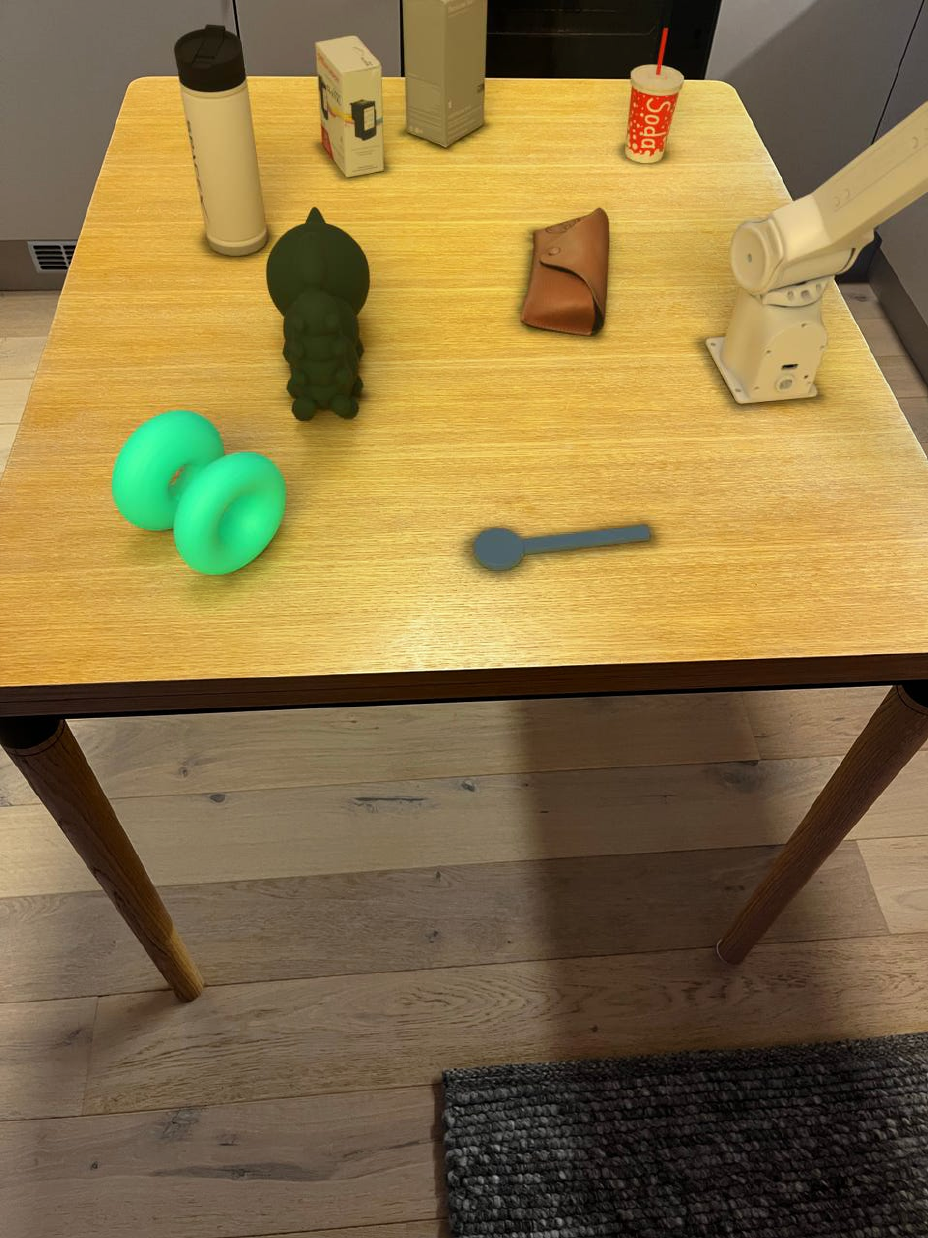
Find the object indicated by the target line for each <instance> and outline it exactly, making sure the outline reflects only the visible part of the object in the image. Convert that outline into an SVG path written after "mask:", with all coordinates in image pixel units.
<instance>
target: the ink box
mask: <svg viewBox="0 0 928 1238" xmlns="http://www.w3.org/2000/svg"><path fill="white" fill-rule="evenodd" d="M314 45H315V58H316V60H315V61H316V74H317V87H318V88H317V91H318V104H319V105H318V107H319V108H318V109H319V120H320V133H321V135H320V136H321V145H322V147H323V148H324V149H325V151H326V153H328V155H329V156H330V157H331V159H332V161H334V163H335V164H336V165H337V167H338V168H339V170H340V171H341V172H342V174H343V175H344V176H345V178H352V177H357V176H363V175H368V174H374V173H378V172H383V171H384V170H385V159H384V158H385V157H384V155H385V154H384V121H383V120H384V115H383V69H382V66H381V62H380V61H379V60H378V59H377V57H375V55H374V54H372V52H371V51H370V50H369V49H368V47H366V45H365V44H364V43H363V42H362V41H361V40H360V38H359V37H358V36H357V35H348V36H342V37H337V38H332V39H326V40H320V41H315V43H314Z"/></svg>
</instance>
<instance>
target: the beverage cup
mask: <svg viewBox="0 0 928 1238" xmlns="http://www.w3.org/2000/svg"><path fill="white" fill-rule="evenodd" d="M668 31H669V28H668V27H664V28H663V31H662V37H661V43H660V46H659V47H660V48H659V54H658V60H657V64H643V65H639V66H637V67H634V68H633V69H632V70H631V71H630V79H629V84H630V85H631V88H630V100H629V108H628V109H629V110H628V117H627V129H626V138H625V148H624V155H625V156H626V157H627V158H628V159H630V160H631V161H633V162H637V163H641V164H652V163H656V162H660V161H661V159H662V158H663V156H664V154H665V153H664V152H665V149H666V144H667V142H668V137H669V134H670V130H671V126H672V121H673V117H674V114H675V109H676V106H677V102H678V98H679V94H680V91H681V90H682V89H683V85H684V83H685V76H684V75H683V74H682V73H681V71H679V70H677V69H675V68H673V67H670V66H667V65H663V60H664V54H665V48H666V43H667V37H668Z"/></svg>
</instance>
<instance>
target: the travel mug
mask: <svg viewBox="0 0 928 1238" xmlns="http://www.w3.org/2000/svg"><path fill="white" fill-rule="evenodd" d="M173 52H174V53H173V54H174V59H175V64H176V69H177V76H178V85H179V88H180V95H181V101H182V107H183V111H184V118H185V123H186V128H187V135H188V139H189V146H190V150H191V151H190V152H191V157H192V162H193V167H194V173H195V178H196V184H197V189H198V194H199V200H200V205H201V212H202V217H203V222H204V228H205V233H206V239H207V243H208V246H209V247H210V248H211V249H212V250H213V251H215V252H216V253H218V254H221V255H225V256H229V257H243V256H248V255H251V254H254V253H256V252H258V251H259V250H261V249H262V248H263V247H265V245H266V244H267V241H268V231H267V224H266V217H265V216H266V215H265V209H264V208H265V207H264V201H263V193H262V184H261V176H260V169H259V162H258V154H257V146H256V138H255V130H254V123H253V116H252V115H253V114H252V107H251V100H250V92H249V84H248V76H247V73H246V67H245V59H244V58H245V57H244V51H243V42H242V41H241V39H240V37H238V36H237V34H235V33H234V32H231V31H229V30H226V26H225V25H220V24H209V23H208V24H205V26H204V28H200V29H195V30H191V31H189V32H187V33H185V34H183V35H182V36H180V37H179V38H178V39H177V41H176V42H175V43H174V47H173Z"/></svg>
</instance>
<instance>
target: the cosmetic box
mask: <svg viewBox="0 0 928 1238" xmlns="http://www.w3.org/2000/svg"><path fill="white" fill-rule="evenodd" d="M402 19H403V21H402V22H403V25H402V26H403V53H404V91H405V93H404V94H405V123H406V124H405V125H406V127H405V129H406V132H408V133H410V134H411V135H415V136H417V137H420V138H423V139H425V140H428V141H430V142H432V143H435V144H437V145H439V146H442V147H444V148H448V147H450V146H451V145H453V144H454V143H455V142H457V141H458V140H461V139H462V138H464V137H465V136H467V135H469V134H470V133H472V132H474V131H475V130H477V129H478V128H480V127H483V125H484V123H485V96H486V95H485V93H486V64H487V63H486V61H487V60H486V59H487V58H486V57H487V30H488V29H487V26H488V25H487V24H488V0H402Z"/></svg>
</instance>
